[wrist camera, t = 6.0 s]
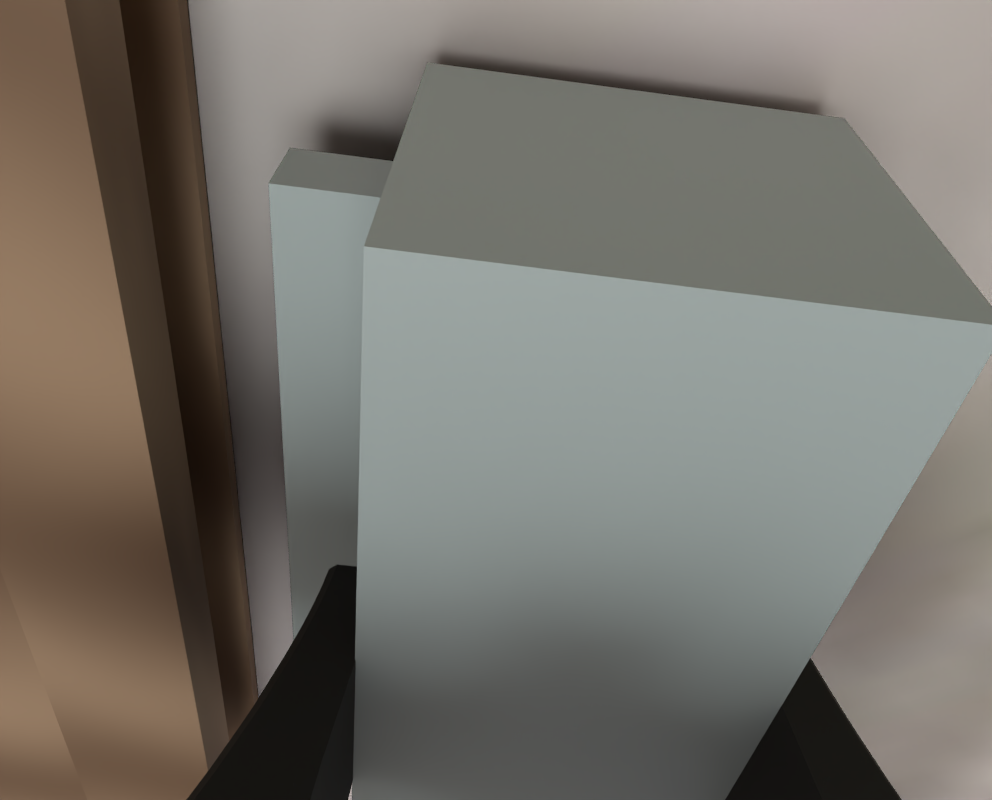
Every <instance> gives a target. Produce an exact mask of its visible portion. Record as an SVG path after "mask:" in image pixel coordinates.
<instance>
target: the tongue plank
mask: <svg viewBox="0 0 992 800" xmlns="http://www.w3.org/2000/svg"><path fill="white" fill-rule="evenodd" d="M269 201H270V220H271V238H272V256H273V274H274V293H275V311H276V329H277V347H278V365H279V384H280V402H281V420H282V438H283V457H284V475H285V493H286V511H287V529H288V548H289V566H290V584H291V602H292V621H293V639H295V637H296V635H297V634H298V632H299V630H300V628H301V627H302V625H303V623H304V621H305V619H306V617H307V615H308V613H309V612H310V610H311V608H312V606H313V604H314V602H315V599H316V597H317V595H318V593H319V591H320V589H321V587H322V585H323V582H324V580H325V577H326V575H327V572H328V570H329V569H330V568H332V567H333V566H335V565H337V564H338V565H347V566H357V589H356V635H355V660H356V672H355V713H354V754H353V781H352V800H725V799H726V797H727V796H728V794H729V792H730V791H731V789H732V787H733V786H734V784H735V782H736V781H737V779H738V777H739V776H740V774H741V772H742V771H743V769H744V767H745V766H746V764H747V762H748V761H749V759H750V757H751V756H752V754H753V752H754V751H755V749H756V747H757V746H758V744H759V742H760V741H761V739H762V737H763V736H764V734H765V732H766V731H767V729H768V727H769V726H770V724H771V722H772V721H773V719H774V717H775V716H776V714H777V712H778V711H779V709H780V707H781V706H782V704H783V703H784V701H785V699H786V698H787V696H788V694H789V693H790V691H791V689H792V688H793V686H794V684H795V683H796V681H797V679H798V678H799V676H800V674H801V673H802V671H803V669H804V667H805V666H806V664H807V662H808V661H809V659H810V657H811V656H812V654H813V652H814V651H815V649H816V647H817V646H818V644H819V642H820V641H821V639H822V637H823V636H824V634H825V632H826V631H827V629H828V627H829V626H830V624H831V622H832V621H833V619H834V617H835V615H836V614H837V612H838V610H839V609H840V607H841V605H842V604H843V602H844V600H845V599H846V597H847V595H848V594H849V592H850V590H851V589H852V587H853V585H854V584H855V582H856V580H857V579H858V577H859V575H860V574H861V572H862V570H863V569H864V567H865V565H866V563H867V562H868V560H869V558H870V557H871V555H872V553H873V552H874V550H875V548H876V547H877V545H878V543H879V542H880V540H881V538H882V537H883V535H884V533H885V532H886V530H887V528H888V527H889V525H890V523H891V522H892V520H893V518H894V517H895V515H896V513H897V511H898V510H899V508H900V506H901V505H902V503H903V501H904V500H905V498H906V496H907V495H908V493H909V491H910V490H911V488H912V486H913V485H914V483H915V481H916V480H917V478H918V476H919V475H920V473H921V471H922V470H923V468H924V466H925V465H926V463H927V461H928V459H929V458H930V456H931V454H932V453H933V451H934V449H935V448H936V446H937V444H938V443H939V441H940V439H941V438H942V436H943V434H944V433H945V431H946V429H947V428H948V426H949V424H950V423H951V421H952V419H953V418H954V416H955V414H956V413H957V411H958V409H959V407H960V406H961V404H962V402H963V401H964V399H965V397H966V396H967V394H968V392H969V391H970V389H971V387H972V386H973V384H974V382H975V381H976V379H977V377H978V376H979V374H980V372H981V371H982V369H983V367H984V366H985V364H986V362H987V361H988V359H989V357H990V356H991V354H992V306H991V305H990V304H989V302H988V301H987V300H986V299H985V297H984V296H983V295H982V293H981V292H980V291H979V290H978V288H977V287H976V286H975V285H974V283H973V282H972V281H971V279H970V278H969V277H968V276H967V274H966V273H965V272H964V270H963V269H962V268H961V267H960V265H959V264H958V263H957V262H956V260H955V259H954V258H953V256H952V255H951V254H950V253H949V251H948V250H947V249H946V248H945V246H944V245H943V244H942V242H941V241H940V240H939V239H938V237H937V236H936V235H935V233H934V232H933V231H932V230H931V228H930V227H929V226H928V225H927V223H926V222H925V221H924V219H923V218H922V217H921V216H920V214H919V213H918V212H917V211H916V209H915V208H914V207H913V205H912V204H911V203H910V202H909V200H908V199H907V198H906V196H905V195H904V194H903V193H902V191H901V190H900V189H899V188H898V186H897V185H896V184H895V182H894V181H893V180H892V179H891V177H890V176H889V175H888V174H887V172H886V171H885V170H884V168H883V167H882V166H881V165H880V163H879V162H878V161H877V159H876V158H875V157H874V156H873V154H872V153H871V152H870V151H869V149H868V148H867V147H866V145H865V144H864V143H863V142H862V140H861V139H860V138H859V137H858V135H857V134H856V133H855V131H854V130H853V129H852V128H851V126H850V125H849V124H848V122H847V121H846V120H845V119H844V118H838V117H830V116H823V115H816V114H808V113H801V112H793V111H786V110H778V109H771V108H763V107H756V106H748V105H741V104H733V103H726V102H719V101H711V100H704V99H696V98H689V97H681V96H674V95H666V94H659V93H651V92H644V91H636V90H629V89H622V88H614V87H607V86H599V85H592V84H584V83H577V82H569V81H562V80H554V79H547V78H539V77H532V76H525V75H517V74H510V73H502V72H495V71H487V70H480V69H472V68H465V67H457V66H450V65H442V64H435V63H428V62H427V65H426V68H425V71H424V74H423V77H422V79H421V82H420V85H419V88H418V91H417V94H416V97H415V100H414V103H413V106H412V108H411V111H410V114H409V117H408V120H407V123H406V126H405V129H404V132H403V134H402V137H401V140H400V143H399V146H398V149H397V152H396V155H395V158H394V161H388V160H380V159H373V158H365V157H357V156H349V155H342V154H334V153H326V152H318V151H311V150H303V149H295V148H290V149H289V150H288V152H287V154H286V155H285V157H284V159H283V160H282V162H281V164H280V165H279V167H278V168H277V170H276V172H275V173H274V175H273V177H272V178H271V180H270V182H269Z"/></svg>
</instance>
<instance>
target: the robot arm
mask: <svg viewBox="0 0 992 800" xmlns="http://www.w3.org/2000/svg"><path fill="white" fill-rule="evenodd" d="M356 589H357V566H347V565H338V564H337V565H335V566H333V567H332V568H330V569H329V570H328V572H327V575H326V577H325V580H324V582H323V585H322V587H321V589H320V591H319V593H318V595H317V597H316V599H315V602H314V604H313V606H312V608H311V610H310V612H309V613H308V615H307V617H306V619H305V621H304V623H303V625H302V627H301V628H300V630H299V632H298V634H297V635H296V637H295V639H294V641H293V643H292V644H291V646H290V648H289V650H288V651H287V653H286V655H285V656H284V658H283V660H282V661H281V663H280V664H279V666H278V668H277V669H276V671H275V672H274V674H273V676H272V677H271V679H270V680H269V682H268V684H267V685H266V687H265V689H264V690H263V692H262V693H261V695H260V697H259V698H258V700H257V701H256V703H255V704H254V706H253V707H252V709H251V710H250V712H249V713H248V715H247V716H246V718H245V719H244V721H243V722H242V724H241V725H240V726H239V728H238V729H237V731H236V732H235V734H234V735H233V736H232V738H231V739H230V741H229V742H228V743H227V745H226V746H225V748H224V749H223V751H222V752H221V753H220V755H219V756H218V758H217V759H216V761H215V762H214V763H213V765H212V766H211V768H210V769H209V770H208V772H207V773H206V774H205V776H204V777H203V778H202V780H201V781H200V782H199V784H198V785H197V786H196V788H195V789H194V790H193V792H192V793H191V794H190V796H189V797H188V798H187V799H186V800H348V797H349V793H350V789H351V785H352V781H353V754H354V713H355V672H356V660H355V635H356ZM725 800H901V798H900V797H899V795H898V794H897V792H896V791H895V789H894V788H893V787H892V785H891V784H890V782H889V781H888V779H887V778H886V776H885V775H884V773H883V772H882V770H881V769H880V767H879V766H878V764H877V763H876V761H875V760H874V758H873V757H872V755H871V754H870V752H869V751H868V749H867V748H866V746H865V745H864V743H863V741H862V740H861V738H860V737H859V735H858V734H857V732H856V731H855V729H854V728H853V726H852V724H851V723H850V721H849V720H848V718H847V717H846V715H845V713H844V712H843V710H842V709H841V707H840V705H839V704H838V702H837V701H836V699H835V697H834V696H833V694H832V692H831V691H830V689H829V688H828V686H827V684H826V683H825V681H824V679H823V678H822V676H821V675H820V673H819V671H818V670H817V668H816V666H815V665H814V663H813V661H812V660H811V658H810V659H809V661H808V662H807V664H806V666H805V667H804V669H803V671H802V673H801V674H800V676H799V678H798V679H797V681H796V683H795V684H794V686H793V688H792V689H791V691H790V693H789V694H788V696H787V698H786V699H785V701H784V703H783V704H782V706H781V707H780V709H779V711H778V712H777V714H776V716H775V717H774V719H773V721H772V722H771V724H770V726H769V727H768V729H767V731H766V732H765V734H764V736H763V737H762V739H761V741H760V742H759V744H758V746H757V747H756V749H755V751H754V752H753V754H752V756H751V757H750V759H749V761H748V762H747V764H746V766H745V767H744V769H743V771H742V772H741V774H740V776H739V777H738V779H737V781H736V782H735V784H734V786H733V787H732V789H731V791H730V792H729V794H728V796H727V797H726V799H725Z"/></svg>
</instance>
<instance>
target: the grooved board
mask: <svg viewBox="0 0 992 800" xmlns="http://www.w3.org/2000/svg"><path fill="white" fill-rule="evenodd" d="M257 700H258V691H257V681H256V671H255V662H254V652H253V642H252V632H251V622H250V613H249V603H248V593H247V583H246V573H245V564H244V554H243V544H242V534H241V524H240V515H239V505H238V495H237V485H236V475H235V466H234V456H233V446H232V436H231V426H230V417H229V407H228V397H227V387H226V377H225V368H224V358H223V348H222V338H221V328H220V319H219V309H218V299H217V289H216V279H215V270H214V260H213V250H212V240H211V230H210V221H209V211H208V201H207V191H206V181H205V172H204V162H203V152H202V142H201V132H200V123H199V113H198V103H197V93H196V83H195V74H194V64H193V54H192V44H191V34H190V25H189V15H188V5H187V0H0V800H186V799H187V798H188V797H189V796H190V794H191V793H192V792H193V790H194V789H195V788H196V786H197V785H198V784H199V782H200V781H201V780H202V778H203V777H204V776H205V774H206V773H207V772H208V770H209V769H210V768H211V766H212V765H213V763H214V762H215V761H216V759H217V758H218V756H219V755H220V753H221V752H222V751H223V749H224V748H225V746H226V745H227V743H228V742H229V741H230V739H231V738H232V736H233V735H234V734H235V732H236V731H237V729H238V728H239V726H240V725H241V724H242V722H243V721H244V719H245V718H246V716H247V715H248V713H249V712H250V710H251V709H252V707H253V706H254V704H255V703H256V701H257Z"/></svg>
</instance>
